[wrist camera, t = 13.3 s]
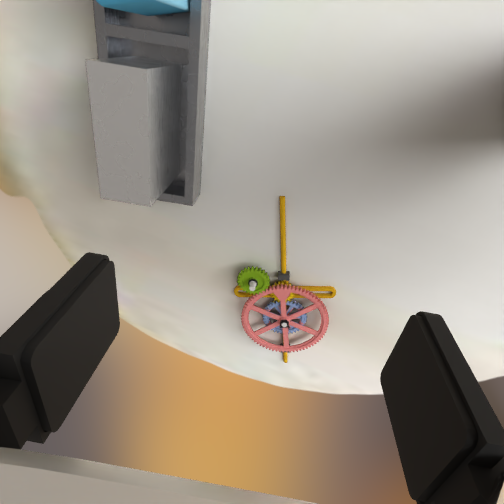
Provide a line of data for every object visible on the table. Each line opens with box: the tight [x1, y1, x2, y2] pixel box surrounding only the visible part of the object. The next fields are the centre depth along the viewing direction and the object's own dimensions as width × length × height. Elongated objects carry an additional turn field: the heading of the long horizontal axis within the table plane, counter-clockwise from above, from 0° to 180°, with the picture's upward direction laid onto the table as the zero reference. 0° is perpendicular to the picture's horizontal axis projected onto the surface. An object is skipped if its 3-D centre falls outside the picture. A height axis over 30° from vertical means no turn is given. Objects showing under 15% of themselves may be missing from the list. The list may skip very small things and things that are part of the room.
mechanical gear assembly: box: [234, 196, 336, 363], centre depth 49 cm, size 30×4×15 cm
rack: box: [85, 0, 211, 207], centre depth 30 cm, size 11×33×11 cm, turn 172°
